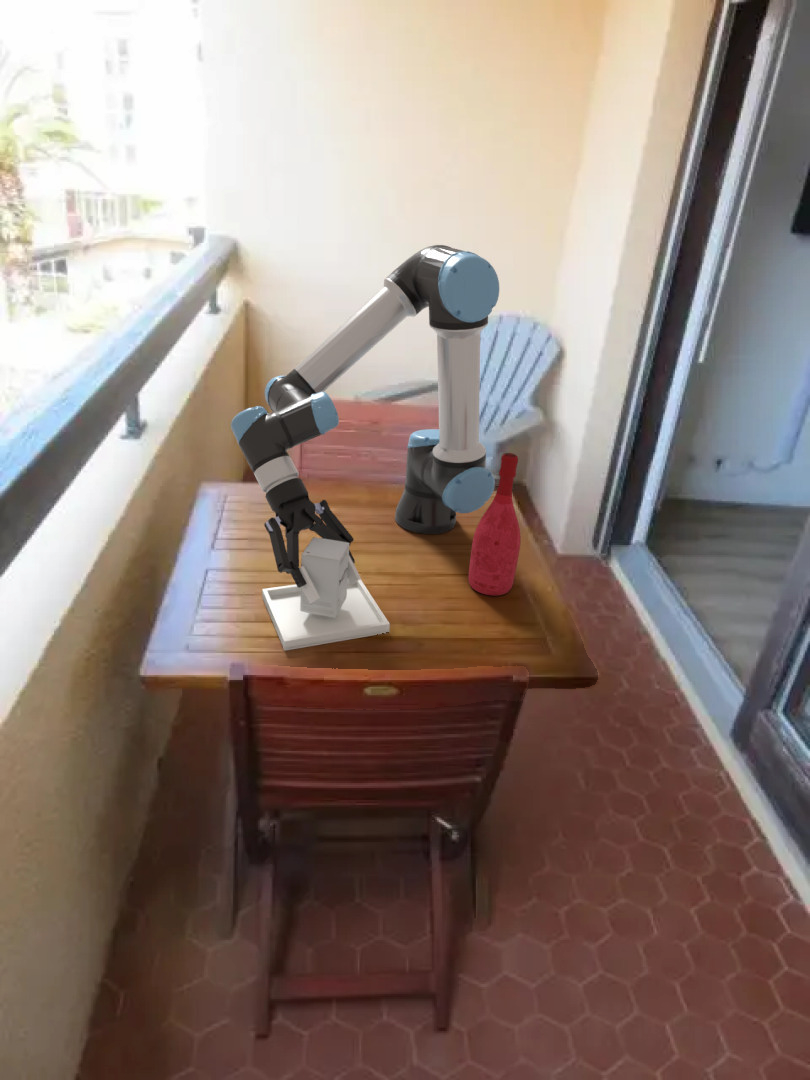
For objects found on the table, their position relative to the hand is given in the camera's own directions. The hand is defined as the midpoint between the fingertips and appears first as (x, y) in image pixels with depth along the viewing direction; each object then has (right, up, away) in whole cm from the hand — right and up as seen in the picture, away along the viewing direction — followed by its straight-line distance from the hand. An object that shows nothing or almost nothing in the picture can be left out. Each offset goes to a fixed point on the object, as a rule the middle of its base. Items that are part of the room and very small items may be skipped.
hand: (336, 590), depth 133 cm
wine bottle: (+31, 0, +20) cm, 37 cm away
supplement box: (-3, -3, +4) cm, 6 cm away
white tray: (-3, -5, +5) cm, 8 cm away
